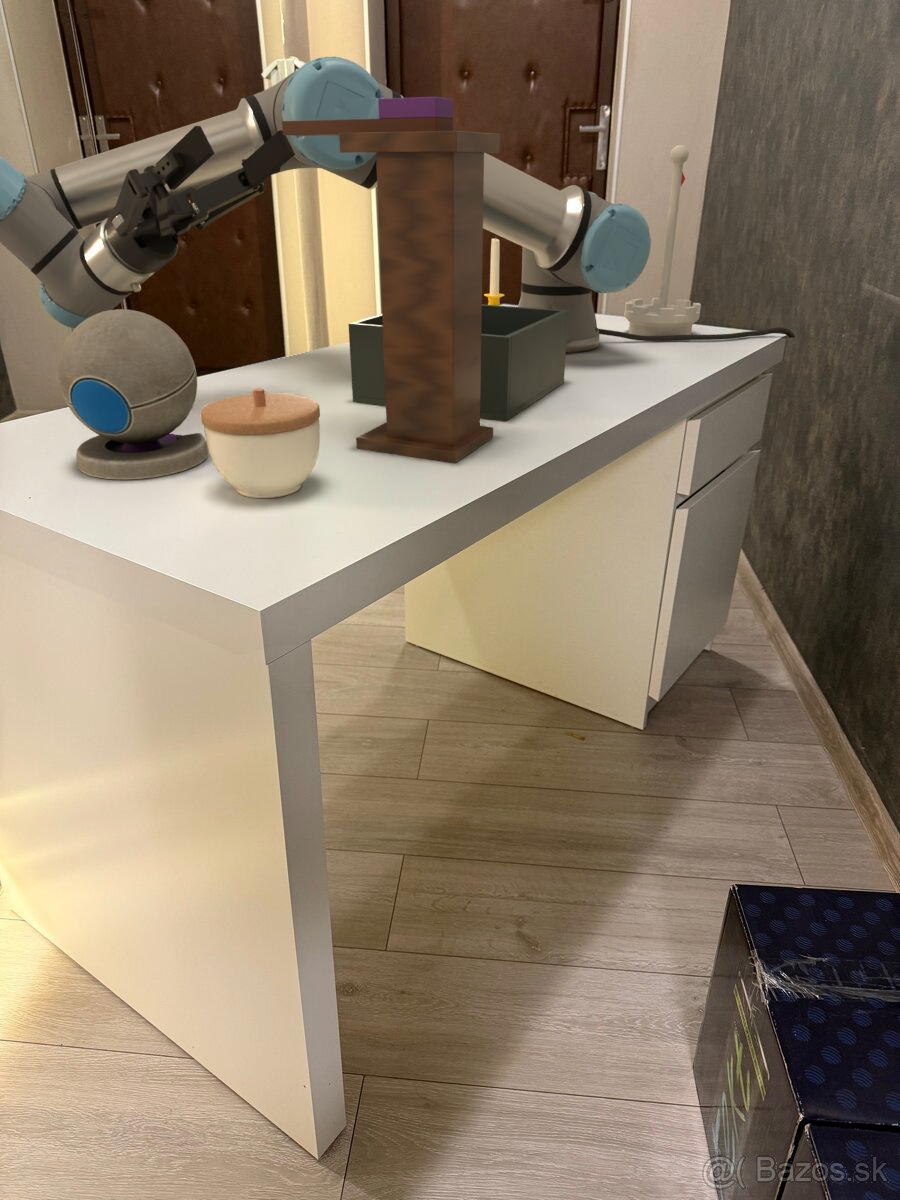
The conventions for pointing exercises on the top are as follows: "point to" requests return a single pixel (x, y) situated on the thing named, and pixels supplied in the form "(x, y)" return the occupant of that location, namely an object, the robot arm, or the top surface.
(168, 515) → the top surface
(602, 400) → the top surface
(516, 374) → the dark green open box
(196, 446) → the webcam
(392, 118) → the scrub brush
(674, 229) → the flag stand
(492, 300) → the candle
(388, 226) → the shelf stand
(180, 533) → the top surface
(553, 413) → the top surface
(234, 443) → the trinket box
